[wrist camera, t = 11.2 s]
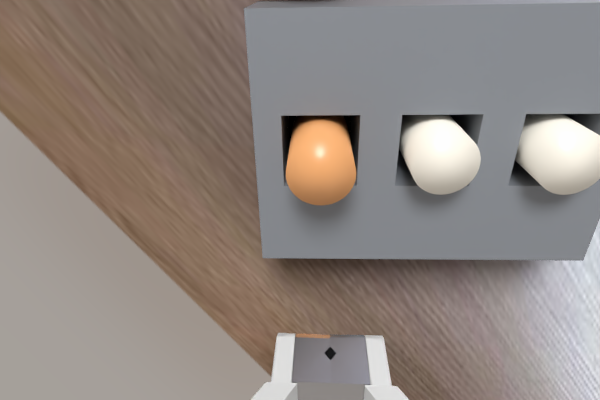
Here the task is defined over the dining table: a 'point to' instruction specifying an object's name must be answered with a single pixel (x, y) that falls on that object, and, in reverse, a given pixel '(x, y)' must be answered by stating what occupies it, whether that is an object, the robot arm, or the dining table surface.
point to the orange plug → (320, 159)
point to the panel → (423, 101)
